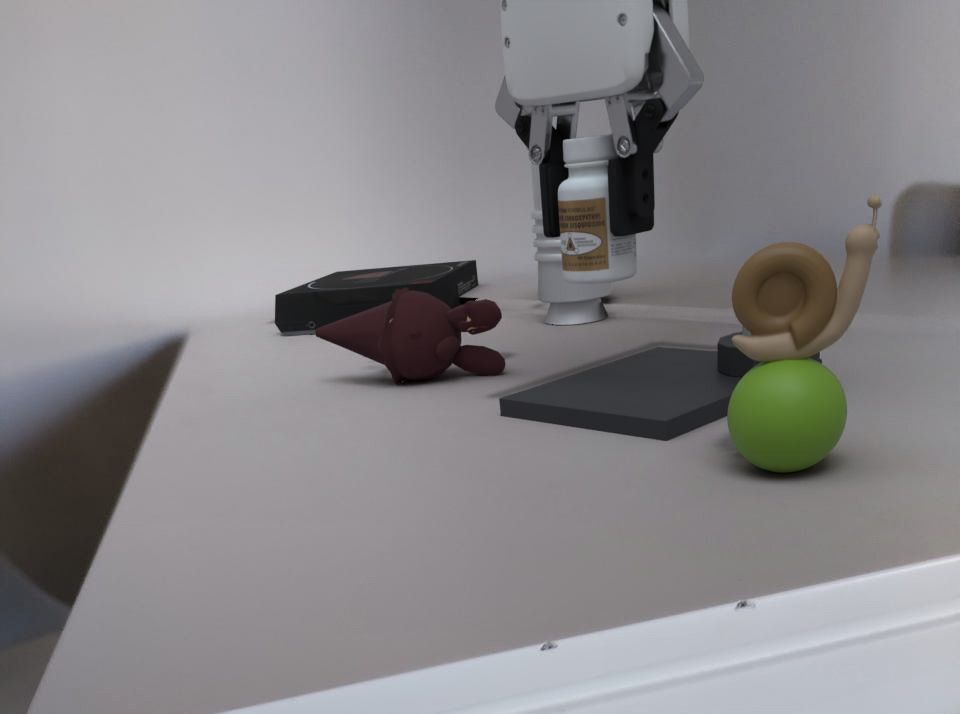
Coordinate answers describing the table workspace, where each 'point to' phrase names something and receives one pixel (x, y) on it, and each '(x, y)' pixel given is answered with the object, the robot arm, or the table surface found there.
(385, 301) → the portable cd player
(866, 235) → the snail figurine
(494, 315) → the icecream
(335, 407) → the table surface
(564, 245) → the pill bottle
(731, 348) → the scale
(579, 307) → the silver ribbed cylinder
